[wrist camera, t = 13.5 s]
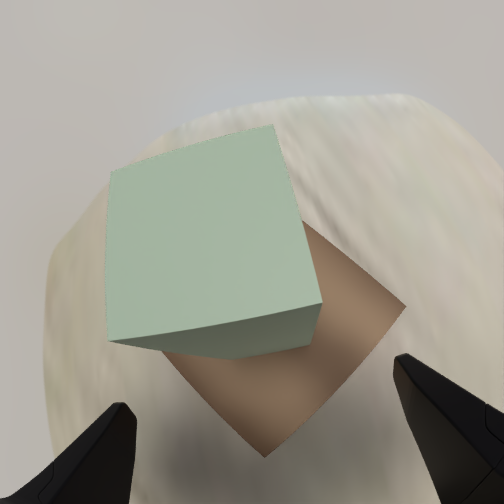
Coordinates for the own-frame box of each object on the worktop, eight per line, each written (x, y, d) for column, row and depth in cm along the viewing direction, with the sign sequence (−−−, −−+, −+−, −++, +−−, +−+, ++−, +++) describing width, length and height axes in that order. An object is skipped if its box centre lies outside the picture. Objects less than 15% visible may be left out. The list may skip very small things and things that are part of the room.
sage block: (310, 344, 17) (322, 302, 5) (232, 359, 17) (107, 340, 6) (293, 270, 18) (272, 124, 7) (220, 286, 19) (111, 171, 8)
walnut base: (270, 445, 17) (264, 457, 14) (154, 323, 22) (134, 316, 19) (392, 314, 19) (406, 306, 16) (267, 210, 23) (261, 189, 21)
